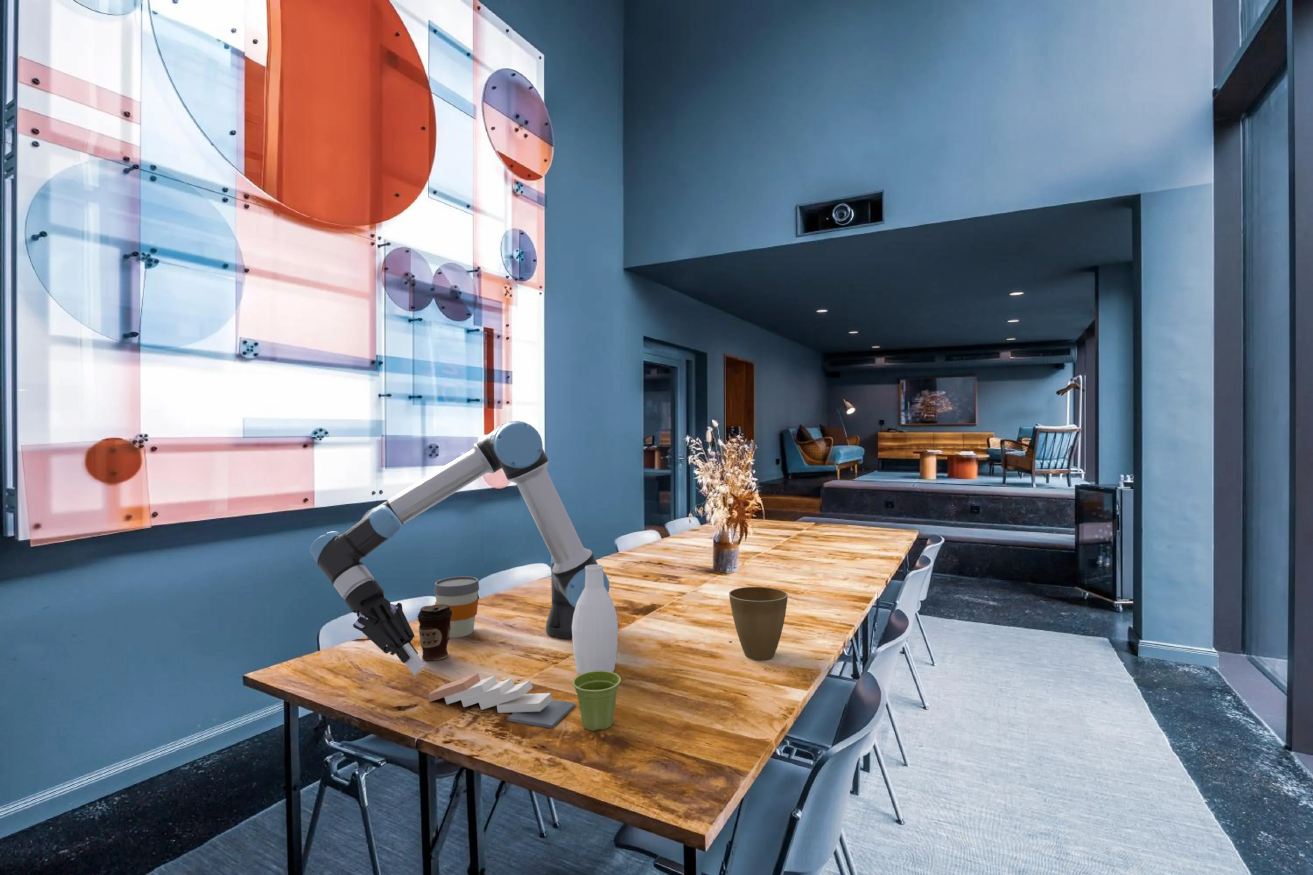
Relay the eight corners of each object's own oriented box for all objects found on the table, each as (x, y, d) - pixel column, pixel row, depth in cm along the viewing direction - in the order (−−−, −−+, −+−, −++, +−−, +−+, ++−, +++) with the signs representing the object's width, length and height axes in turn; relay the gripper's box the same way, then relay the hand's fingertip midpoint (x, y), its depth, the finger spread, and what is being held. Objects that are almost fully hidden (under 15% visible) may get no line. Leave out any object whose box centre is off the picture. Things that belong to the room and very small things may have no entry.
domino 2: (444, 697, 125) (481, 684, 123) (459, 687, 130) (494, 675, 127) (446, 704, 125) (483, 692, 122) (461, 694, 130) (497, 682, 127)
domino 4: (478, 702, 123) (517, 689, 120) (492, 692, 127) (530, 679, 125) (481, 709, 122) (520, 697, 120) (494, 699, 127) (532, 687, 124)
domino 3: (461, 699, 124) (498, 687, 121) (475, 690, 129) (512, 677, 126) (463, 707, 124) (501, 694, 121) (477, 697, 129) (514, 685, 126)
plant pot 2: (799, 653, 151) (798, 591, 151) (768, 671, 140) (767, 604, 140) (750, 640, 161) (750, 582, 161) (718, 656, 151) (717, 593, 151)
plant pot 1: (602, 740, 109) (601, 694, 109) (563, 727, 114) (562, 683, 114) (630, 719, 117) (630, 676, 117) (593, 708, 122) (592, 667, 122)
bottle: (599, 659, 150) (597, 559, 150) (628, 671, 142) (626, 565, 142) (563, 671, 142) (561, 566, 142) (591, 685, 134) (590, 573, 134)
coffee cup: (440, 664, 148) (439, 612, 148) (410, 662, 149) (409, 611, 149) (458, 651, 156) (457, 603, 156) (430, 649, 158) (429, 601, 158)
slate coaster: (507, 720, 118) (507, 717, 118) (533, 699, 127) (533, 696, 127) (551, 728, 114) (551, 724, 114) (575, 705, 124) (575, 702, 124)
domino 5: (496, 704, 121) (538, 703, 118) (509, 694, 126) (550, 692, 123) (497, 712, 121) (540, 711, 118) (511, 702, 126) (552, 700, 123)
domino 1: (427, 694, 127) (463, 682, 124) (442, 685, 132) (477, 673, 129) (429, 701, 127) (466, 689, 124) (444, 692, 131) (480, 680, 129)
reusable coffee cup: (471, 639, 166) (470, 586, 166) (427, 639, 166) (426, 586, 166) (485, 625, 178) (484, 575, 178) (444, 625, 178) (443, 576, 178)
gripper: (372, 593, 143) (430, 669, 137) (327, 608, 130) (388, 693, 125) (390, 572, 141) (448, 649, 136) (345, 585, 128) (408, 671, 123)
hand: (419, 670), depth 130 cm, fingers closed
